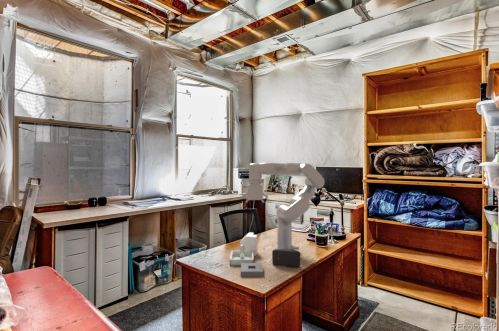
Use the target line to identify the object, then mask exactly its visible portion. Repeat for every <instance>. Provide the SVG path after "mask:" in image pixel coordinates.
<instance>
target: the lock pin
mask: <svg viewBox="0 0 499 331" xmlns="http://www.w3.org/2000/svg"><path fill="white" fill-rule="evenodd" d="M239 251H240V259H245V245H243V244H241V245H240V244H239Z"/></svg>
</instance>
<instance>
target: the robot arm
mask: <svg viewBox="0 0 499 331" xmlns="http://www.w3.org/2000/svg"><path fill="white" fill-rule="evenodd" d="M261 175H279V176H280V175H281V176H292V177H293V176H295V177H296V176H297V177H299V176H300V177H305V178H304V187H303V189H302V190H301V191H299V192H297V193H296V195H294V196H293V197H291V199H290V200H289V205H287V204H281V205H279V206H278V207H277V208H276V222H277V229H276V230H277V237H276V238H277V242H276V244H277V247H276V248H275V249H292V250H297V251H299V250H300V248H299V247H300V246H297V245H293V244H292V243H293V241H292V239H293V237H292V236H293V234H292V233H293V231H292V228H293V225H292V223H293V222H294V221H296V220H298V219H299V218H300V217H302V216H303V215H304V214H305V213H307V211H308V210H309V209H310V207H311V206H310V205H311V203H310V201H311V200H312V199H313V198H314V197H315V194H316V189H322V188H323V187H324V186H325V179H324V177H323V176H322V174H321V173H320V172H318V170H317V169H316V168H315V167H314V166H313V165H312V164H310V163H302V162H301V163H300V162H260V163H255V162H254V163H253V162H252V163H249V165H248V184H247V187H246V188H247V189H246V191H247V192H245V193H244V194H242V195H241V198H242V200H243V201H244V203H245V208H246V209H247V210H249V201H261V209H262V210H264V208H265V202H266V201H267V200H268V198H269V195H267V194H265V193H264V192H263V190H264V189H263V184H262V183H264V180H262V179H261V178H262V177H261ZM263 196H264V197H265V198H264V197H263ZM245 197H246V198H245Z"/></svg>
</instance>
